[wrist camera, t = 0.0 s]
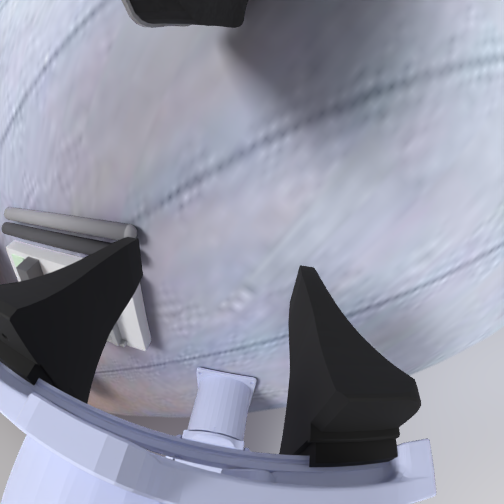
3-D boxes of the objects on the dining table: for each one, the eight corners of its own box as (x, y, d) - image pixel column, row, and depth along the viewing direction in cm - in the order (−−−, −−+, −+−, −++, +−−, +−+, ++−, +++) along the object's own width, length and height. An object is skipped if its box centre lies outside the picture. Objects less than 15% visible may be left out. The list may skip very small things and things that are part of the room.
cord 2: (143, 259, 25) (136, 268, 23) (9, 229, 26) (1, 235, 24) (141, 245, 24) (134, 254, 23) (6, 219, 25) (-2, 225, 23)
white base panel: (151, 339, 31) (138, 366, 28) (36, 298, 32) (21, 317, 28) (138, 270, 26) (117, 299, 22) (14, 239, 26) (-6, 257, 23)
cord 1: (140, 237, 23) (133, 246, 22) (11, 215, 24) (3, 221, 23) (139, 222, 23) (131, 230, 21) (9, 204, 23) (0, 209, 22)
